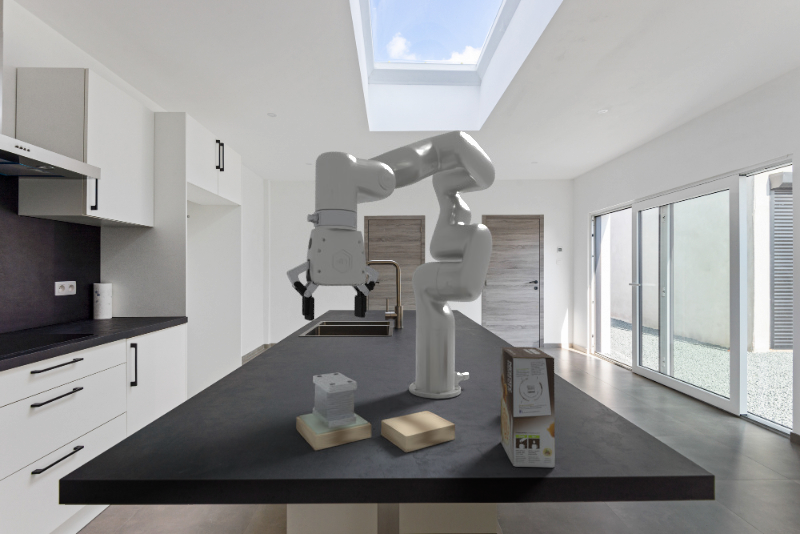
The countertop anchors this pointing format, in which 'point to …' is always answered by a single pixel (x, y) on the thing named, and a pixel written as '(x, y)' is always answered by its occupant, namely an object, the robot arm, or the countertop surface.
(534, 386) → the coffee box
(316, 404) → the housing
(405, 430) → the beige piece
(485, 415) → the countertop surface
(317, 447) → the stand
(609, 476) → the countertop surface
